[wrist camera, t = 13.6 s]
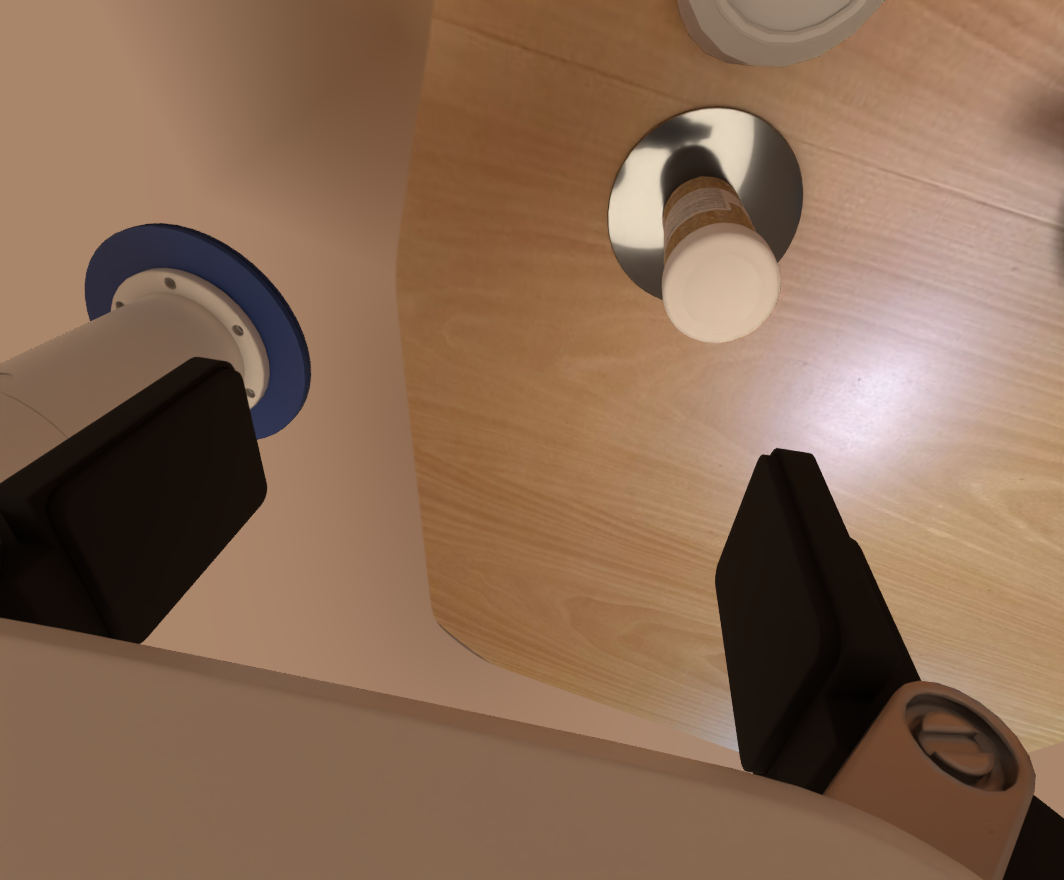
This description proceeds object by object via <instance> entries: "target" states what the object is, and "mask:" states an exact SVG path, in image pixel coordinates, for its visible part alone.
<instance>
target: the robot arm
mask: <svg viewBox="0 0 1064 880" xmlns="http://www.w3.org/2000/svg"><path fill="white" fill-rule="evenodd" d="M269 377H270V369H269V360H268V356H267V352H266V348H265V346H264V343H263V341H262V339H261V336H260V334H259V332H258V331H257V329H256V328H255V326H254V324H253V323H252V321H251V320H250V318H249V317H248V316H247V315H246V314H245V312H244V311H243V310H242V309H241V308H240V306H239V305H238V304H237V303H236V302H234V301H233V300H232V299H231V298H230V297H229V296H228V295H227V294H226V293H224V292H223V291H222V290H220V289H219V288H217V287H216V286H215V285H213V284H212V283H210V282H208V281H206V280H204V279H202V278H200V277H198V276H197V275H194V274H191V273H188V272H185V271H182V270H178V269H171V268H152V269H149V270H146V271H143V272H140V273H137V274H135V275H133V276H131V277H130V278H128V279H126V280H125V281H124V282H123V283H122V284H121V285H120V286H119V287H118V289H117V291H116V293H115V295H114V297H113V301H112V306H111V312H109V313H107V314H105V315H103V316H101V317H99V318H97V319H95V320H92V321H90V322H88V323H86V324H84V325H82V326H80V327H78V328H75V329H73V330H71V331H69V332H67V333H65V334H63V335H61V336H58V337H56V338H54V339H52V340H50V341H48V342H46V343H43V344H41V345H39V346H37V347H35V348H33V349H31V350H28V351H26V352H24V353H22V354H20V355H18V356H16V357H14V358H11V359H10V360H7V361H5V362H3V363H1V364H0V880H1064V818H1063V817H1061V816H1060V815H1059V814H1058V813H1056V812H1055V811H1054V810H1052V809H1051V808H1050V807H1049V806H1047V805H1046V804H1045V803H1043V802H1042V801H1041V800H1039V799H1038V798H1037V797H1036V796H1034V795H1033V794H1034V789H1035V777H1036V775H1035V772H1034V769H1033V766H1032V763H1031V760H1030V757H1029V755H1028V753H1027V752H1026V750H1025V749H1024V747H1023V746H1022V744H1021V742H1020V741H1019V739H1018V738H1017V736H1016V735H1015V734H1014V733H1013V732H1012V731H1011V730H1010V729H1009V728H1008V727H1007V725H1006V724H1005V723H1004V722H1003V721H1002V720H1001V719H1000V718H999V717H998V716H996V715H995V714H994V713H993V712H991V711H990V710H989V709H987V708H986V707H985V706H984V705H982V704H981V703H980V702H978V701H977V700H975V699H973V698H971V697H969V696H968V695H966V694H964V693H962V692H961V691H959V690H956V689H954V688H951V687H948V686H945V685H942V684H939V683H934V682H926V681H921V679H920V677H919V675H918V673H917V670H916V668H915V666H914V664H913V662H912V659H911V657H910V655H909V653H908V651H907V648H906V646H905V644H904V642H903V640H902V637H901V635H900V633H899V631H898V629H897V626H896V624H895V622H894V620H893V618H892V615H891V613H890V611H889V609H888V607H887V604H886V602H885V600H884V598H883V596H882V593H881V591H880V589H879V587H878V585H877V582H876V580H875V578H874V576H873V574H872V571H871V569H870V567H869V565H868V563H867V560H866V558H865V556H864V554H863V552H862V549H861V548H860V546H859V545H858V543H857V542H856V541H855V540H853V539H852V538H850V536H849V534H848V532H847V529H846V527H845V525H844V523H843V520H842V518H841V516H840V514H839V511H838V509H837V507H836V504H835V502H834V500H833V498H832V495H831V493H830V491H829V489H828V486H827V484H826V482H825V480H824V477H823V475H822V473H821V471H820V468H819V466H818V464H817V461H816V459H815V457H814V456H813V454H810V453H805V452H799V451H793V450H786V449H780V448H776V449H774V450H773V452H772V453H771V455H764V454H763V455H761V456H760V457H759V459H758V461H757V464H756V466H755V469H754V471H753V474H752V477H751V479H750V482H749V484H748V487H747V490H746V492H745V495H744V497H743V500H742V502H741V505H740V508H739V510H738V513H737V515H736V518H735V521H734V523H733V526H732V528H731V531H730V534H729V536H728V539H727V541H726V544H725V547H724V549H723V552H722V554H721V557H720V559H719V562H718V565H717V569H716V575H715V586H716V593H717V600H718V607H719V614H720V621H721V628H722V635H723V642H724V649H725V656H726V663H727V670H728V677H729V684H730V691H731V698H732V705H733V712H734V719H735V726H736V733H737V740H738V747H739V754H740V760H741V764H742V767H743V769H744V770H745V771H747V772H753V774H751V773H747V772H744V771H740V770H736V769H733V768H728V767H724V766H719V765H715V764H711V763H706V762H702V761H698V760H693V759H689V758H684V757H680V756H676V755H671V754H666V753H662V752H658V751H653V750H649V749H645V748H640V747H636V746H631V745H627V744H623V743H618V742H614V741H609V740H604V739H600V738H595V737H590V736H585V735H581V734H576V733H571V732H566V731H561V730H556V729H552V728H547V727H542V726H537V725H533V724H528V723H523V722H518V721H514V720H509V719H504V718H499V717H495V716H490V715H485V714H480V713H476V712H471V711H466V710H461V709H456V708H452V707H447V706H442V705H437V704H432V703H427V702H423V701H418V700H413V699H408V698H403V697H398V696H393V695H389V694H383V693H378V692H374V691H369V690H364V689H359V688H354V687H350V686H344V685H340V684H335V683H330V682H325V681H320V680H315V679H310V678H306V677H301V676H296V675H291V674H286V673H281V672H276V671H271V670H266V669H261V668H256V667H251V666H246V665H241V664H237V663H232V662H227V661H221V660H216V659H212V658H206V657H201V656H196V655H191V654H186V653H181V652H176V651H171V650H165V649H161V648H156V647H151V646H146V645H141V644H140V643H142V642H143V641H144V640H145V639H146V638H147V637H148V636H149V635H150V634H151V633H152V631H153V630H154V629H155V628H156V627H157V626H158V624H159V623H160V622H161V621H162V620H163V619H164V617H165V616H166V615H167V614H168V613H169V612H170V611H171V609H172V608H173V607H174V606H175V605H176V604H177V602H178V601H179V600H180V599H181V598H182V597H183V595H184V594H185V593H186V592H187V591H188V590H189V588H190V587H191V586H192V585H193V584H194V583H195V581H196V580H197V579H198V578H199V577H200V575H201V574H202V573H203V572H204V571H205V570H206V569H207V567H208V566H209V565H210V564H211V563H212V562H213V560H214V559H215V558H216V557H217V556H218V555H219V554H220V552H221V551H222V550H223V549H224V548H225V547H226V545H227V544H228V543H229V542H230V541H231V539H232V538H233V537H234V536H235V535H236V534H237V533H238V531H239V530H240V529H241V528H242V527H243V526H244V524H245V523H246V522H247V521H248V520H249V519H250V517H251V516H252V515H253V514H254V513H255V512H256V510H257V509H258V508H259V507H260V506H261V504H262V503H263V501H264V499H265V497H266V493H267V483H266V479H265V474H264V470H263V465H262V461H261V457H260V452H259V447H258V443H257V439H256V434H255V430H254V425H253V421H252V416H251V412H250V409H251V408H252V407H254V406H255V405H256V404H257V403H258V402H259V401H260V400H261V398H262V397H263V396H264V394H265V392H266V389H267V387H268V383H269Z"/></svg>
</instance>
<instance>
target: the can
mask: <svg viewBox="0 0 1064 880" xmlns="http://www.w3.org/2000/svg"><path fill="white" fill-rule="evenodd" d="M884 1H885V0H678V8H679V13H680V16H681V18H682V20H683V22H684V25H685V27H686V29H687V32H688V34H689V36H690V37H691V38H692V39H693V40H694V41H695V42H696V43H697V45H698V46H699V47H700V48H701V49H702V50H703V51H704V52H705V53H706V54H708V55H711V56H713V57H715V58H717V59H719V60H722V61H724V62H726V63H732V64H741V65H750V66H769V67H787V66H790V65H793V64H797V63H800V62H803V61H807V60H810V59H813V58H816V57H819V56H821V55H823V54H824V53H826V52H827V51H829V50H830V49H832V48H833V47H835V46H836V45H838V44H839V43H841V42H842V41H844V40H846V39H847V38H849V37H850V36H852V35H853V34H854V33H855V32H856V31H857V30H858V29H859V28H860V27H861V26H862V25H863V24H864V22H865V21H866V20H867V19H868V18H869V17H870V16H871V15H872V14H873V13H874V12H875V11H876V10H877V9H878V7H879V6H880V5H881V4H882V3H883V2H884Z"/></svg>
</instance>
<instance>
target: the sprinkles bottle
mask: <svg viewBox="0 0 1064 880" xmlns="http://www.w3.org/2000/svg"><path fill="white" fill-rule="evenodd" d="M662 225H663V230H664V266H665V267H664V271H663V276H662V296H663V302H664V307H665V310H666V313H667V315H668V317H669V319H670V320H671V322H672V323H673V324H674V325H675V327H676V328H677V329H678V330H680V331H681V332H682V333H684V334H685V335H687V336H688V337H690V338H692V339H695V340H698V341H701V342H707V343H724V342H729V341H733V340H736V339H739V338H742V337H744V336H746V335H748V334H750V333H751V332H753V331H754V330H756V329H757V328H758V327H759V326H760V325H761V324H762V323H763V322H764V321H765V320H766V319H767V318H768V316H769V315H770V314H771V312H772V311H773V309H774V307H775V305H776V303H777V300H778V297H779V294H780V288H781V275H780V270H779V266H778V263H777V261H776V258H775V256H774V254H773V252H772V251H771V249H770V247H769V246H768V244H767V243H766V241H765V240H764V239H763V238H762V237H761V236H760V235H759V234H758V233H756V230H755V228H754V226H753V224H752V222H751V219H750V217H749V215H748V214H747V212H746V210H745V208H744V206H743V205H742V203H741V201H740V198H739V196H738V194H737V192H736V191H735V189H734V188H733V187H732V186H731V185H730V184H728V183H727V182H725V181H724V180H721V179H718V178H715V177H704V176H701V177H697V178H695V179H691V180H689V181H687V182H685V183H683V184H682V185H680V186H679V187H678V188H677V189H676V190H675V191H674V192H673V193H672V195H671V196H670V198H669V199H668V201H667V203H666V205H665V208H664V211H663V218H662Z"/></svg>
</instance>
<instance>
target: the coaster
mask: <svg viewBox="0 0 1064 880" xmlns="http://www.w3.org/2000/svg"><path fill="white" fill-rule="evenodd" d="M701 176H704V177H715V178H718V179H721V180H724V181H725V182H727V183H728V184H730V185H731V186H732V187H733V188H734V189H735V191H736V192H737V194H738V196H739V198H740V201H741V203H742V205H743V206H744V208H745V210H746V212H747V214H748V215H749V217H750V219H751V222H752V224H753V226H754V228H755V230H756V233H758V234H759V235H760V236H761V237H762V238H763V239H764V240H765V241H766V243H767V244H768V246H769V247H770V249H771V251H772V252H773V254H774V256H775V258H776V261H777V263H778V262H779V261H780V259H781V258H782V257H783V255H784V254H785V252H786V250H787V249H788V247H789V245H790V244H791V242H792V239H793V237H794V235H795V233H796V230H797V227H798V224H799V220H800V216H801V211H802V204H803V185H802V177H801V173H800V169H799V165H798V162H797V160H796V157H795V155H794V153H793V151H792V149H791V148H790V146H789V144H788V143H787V141H786V140H785V139H784V138H783V137H782V135H781V134H780V133H779V132H778V131H777V130H776V129H775V128H773V127H772V126H771V125H770V124H769V123H767V122H766V121H764V120H762V119H761V118H759V117H757V116H755V115H753V114H751V113H748V112H746V111H743V110H738V109H734V108H728V107H705V108H699V109H694V110H690V111H687V112H684V113H681V114H679V115H676V116H674V117H672V118H670V119H668V120H666V121H664V122H663V123H661V124H660V125H658V126H657V127H655V128H654V129H652V130H651V131H650V132H649V133H648V134H647V135H646V136H644V137H643V138H642V139H641V140H640V141H639V142H638V144H637V145H636V146H635V147H634V148H633V149H632V151H631V152H630V153H629V155H628V156H627V158H626V159H625V161H624V162H623V164H622V166H621V168H620V170H619V172H618V174H617V176H616V179H615V182H614V184H613V187H612V191H611V195H610V199H609V206H608V231H609V237H610V241H611V245H612V249H613V251H614V253H615V256H616V258H617V260H618V262H619V264H620V265H621V267H622V269H623V270H624V271H625V273H626V274H627V275H628V277H629V278H630V279H631V280H632V281H633V282H634V283H635V284H636V285H638V286H639V287H640V288H642V289H643V290H644V291H646V292H648V293H649V294H651V295H653V296H655V297H657V298H660V299H662V300H663V296H662V276H663V271H664V267H665V266H664V230H663V225H662V218H663V211H664V208H665V205H666V203H667V201H668V199H669V198H670V196H671V195H672V193H673V192H674V191H675V190H676V189H677V188H678V187H679V186H680V185H682V184H683V183H685V182H687V181H689V180H691V179H695V178H697V177H701Z"/></svg>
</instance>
